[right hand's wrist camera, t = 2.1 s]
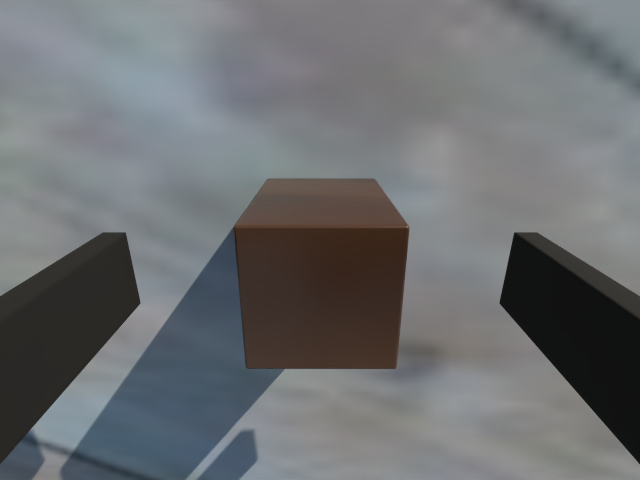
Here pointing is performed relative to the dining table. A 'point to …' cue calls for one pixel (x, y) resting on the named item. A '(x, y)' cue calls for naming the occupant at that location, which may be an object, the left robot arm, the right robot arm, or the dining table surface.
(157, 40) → the dining table surface
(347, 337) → the walnut block
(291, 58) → the dining table surface
